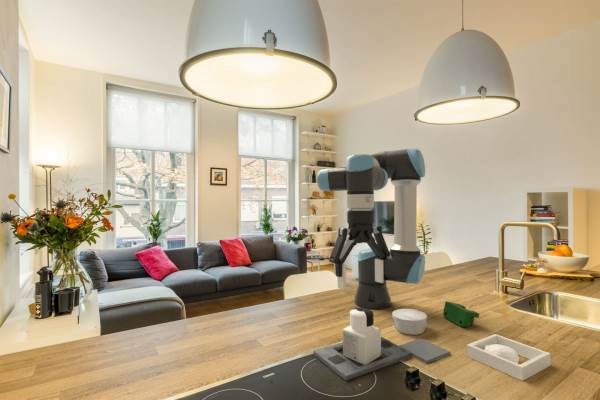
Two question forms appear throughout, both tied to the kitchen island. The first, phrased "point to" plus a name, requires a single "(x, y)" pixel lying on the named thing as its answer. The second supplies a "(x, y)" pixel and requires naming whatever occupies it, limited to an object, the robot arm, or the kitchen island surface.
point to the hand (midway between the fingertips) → (361, 285)
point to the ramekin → (409, 321)
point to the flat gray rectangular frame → (350, 369)
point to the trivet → (425, 350)
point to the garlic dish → (521, 372)
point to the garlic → (503, 352)
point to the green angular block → (459, 314)
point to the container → (362, 337)
